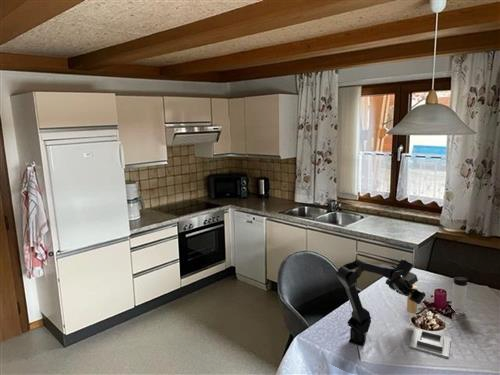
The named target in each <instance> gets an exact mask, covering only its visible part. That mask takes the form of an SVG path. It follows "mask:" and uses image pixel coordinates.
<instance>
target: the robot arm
mask: <svg viewBox="0 0 500 375" xmlns="http://www.w3.org/2000/svg"><path fill="white" fill-rule="evenodd" d="M413 268H414V265H413V264H412V263H410V262H409V261H407V260H406V259H405V258H401V260H400V261H399V263H398V264H397V265H396V266H394V265H393V264H391V265H390V264H389V265H388V264H385V263H381V264H376V263H372V262H368V261H365V260H361V259H355V260H354V261H352V262H349V263H348V262H347V263H345V264H344V265H342V266H340V267H339V268H338V269H337V271H336V277H337V278H338V280H339V282H340V283H341V284H342V285H343V286H344V289H345V292H346V295H347V298H348V300H349V303H350V305H351V309H352V311H351V317H350V318H349V319H348V321H347V325H348V327H349V328H350V330H349V332H350V333H349V340H348V342H349V343H351V344H354V345H358V346H362V347H363V346H364V344H365V343H366V342H367V333H368V332H369V329H370V327H371V323H372V320H371V319H372V317H371V314H370V310H369V311H368V310H367V309H366V308H364V307H363V304H362V302H361V299H360V296H359V293H358V289H357V287H356V284H357V280H358V279H359V278H361V275H362V274H363V272H368V273H373V274H377V275H381V276H382V277H384V278H386V280H385V284H386V285H388V288H389V289H390V290H392V291H395V292H396V293H397V294H399V295H402V296H405V297H408V295H411V297H410V298H409V299H410V300H411V301H413V302H415V303H417V305H420V304H421V303H422V301H423V300H424V298H425V297H426V293H425V291H422V290H421V289H419V288H418V289H411V288H413V285H414V284H416V283H417V282H418V281H419V280H418V279H419V278H418V276H417V274H415V273H413V272H411V270H412V269H413ZM355 269H356V270H355ZM352 270H355V271H352Z"/></svg>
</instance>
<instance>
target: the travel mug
mask: <svg viewBox="0 0 500 375" xmlns="http://www.w3.org/2000/svg"><path fill="white" fill-rule="evenodd" d="M467 289H468V278H467V277H464V276H456V277H455V276H454V277H453V285H452V295H451V308H452V309H453V310H454V311H455V312H456V313H458V314H459V315H458V316H463V315H465V309H466V300H467V291H468V290H467ZM451 308H450V309H451Z"/></svg>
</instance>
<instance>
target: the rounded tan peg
mask: <svg viewBox="0 0 500 375" xmlns="http://www.w3.org/2000/svg"><path fill="white" fill-rule="evenodd" d="M411 289H419V286H416V285H414V284H413V288H411ZM410 297H411V295H408V296H407V299H406V300H407V301H406V312H407V313H409V314H417V311H418V304H417V303H415V302H413V301H411V300H410V299H409V298H410Z"/></svg>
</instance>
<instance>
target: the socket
mask: <svg viewBox="0 0 500 375" xmlns="http://www.w3.org/2000/svg"><path fill="white" fill-rule="evenodd" d="M451 339H452V338H451V336H447V335H444V334H440V333H437V332H434V331H430V330H424V329H420V328H419V329H418V328H413V331H412V335H411V338H410V343H409V348H410V349H413V350H417V351H421V352H424V353H428V354H432V355H435V356H439V357H442V358H445V359H449V356H450V350H451V349H450V346H451Z"/></svg>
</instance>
